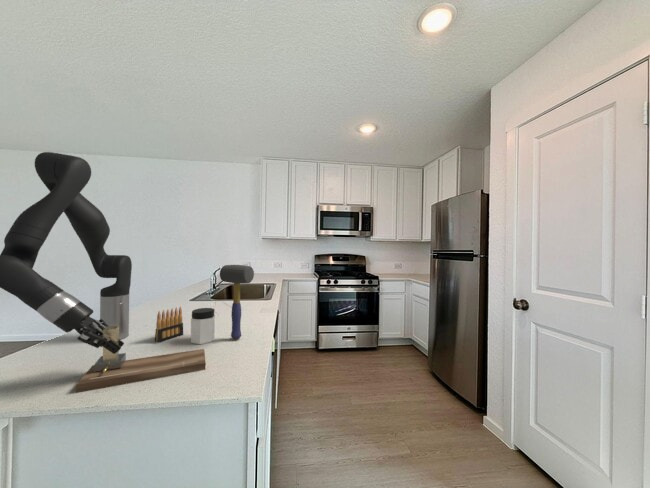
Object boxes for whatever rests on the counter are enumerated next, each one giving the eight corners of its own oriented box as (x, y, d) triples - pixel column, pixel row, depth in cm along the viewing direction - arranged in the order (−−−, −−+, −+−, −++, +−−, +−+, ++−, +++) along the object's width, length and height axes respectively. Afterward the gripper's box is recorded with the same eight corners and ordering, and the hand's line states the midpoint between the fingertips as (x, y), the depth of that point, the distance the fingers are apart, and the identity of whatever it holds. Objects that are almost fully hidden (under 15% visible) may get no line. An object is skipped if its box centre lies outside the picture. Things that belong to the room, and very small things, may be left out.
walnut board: (92, 372, 78) (92, 365, 78) (204, 354, 91) (204, 348, 91) (76, 392, 67) (76, 384, 67) (205, 369, 80) (205, 362, 80)
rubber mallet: (254, 338, 108) (255, 264, 108) (243, 344, 101) (244, 265, 101) (229, 334, 112) (230, 263, 112) (216, 340, 105) (218, 264, 105)
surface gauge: (101, 362, 79) (101, 326, 79) (125, 359, 81) (126, 323, 82) (89, 377, 70) (90, 336, 70) (117, 373, 73) (118, 333, 73)
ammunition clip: (157, 343, 101) (158, 311, 101) (154, 342, 102) (155, 311, 102) (183, 334, 111) (183, 306, 111) (180, 334, 112) (181, 305, 112)
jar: (185, 342, 102) (186, 311, 102) (201, 335, 110) (201, 307, 110) (204, 345, 99) (204, 313, 99) (219, 338, 107) (219, 308, 107)
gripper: (68, 306, 68) (125, 346, 73) (87, 296, 81) (135, 331, 86) (39, 329, 66) (100, 369, 71) (64, 315, 78) (115, 350, 84)
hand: (119, 348), depth 78 cm, fingers closed on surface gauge, 3 cm apart
